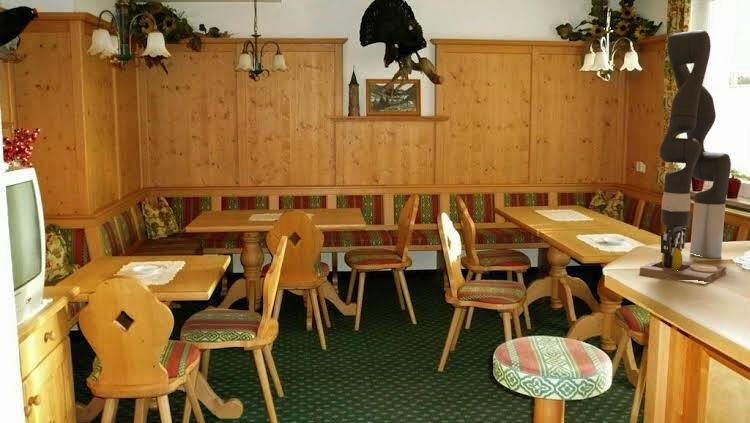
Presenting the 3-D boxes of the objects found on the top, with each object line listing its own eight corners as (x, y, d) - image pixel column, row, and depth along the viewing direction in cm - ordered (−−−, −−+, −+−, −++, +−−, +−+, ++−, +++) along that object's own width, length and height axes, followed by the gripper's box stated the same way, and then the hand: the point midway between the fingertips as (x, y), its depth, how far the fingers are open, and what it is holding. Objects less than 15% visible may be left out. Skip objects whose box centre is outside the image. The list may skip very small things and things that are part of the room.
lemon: (683, 275, 212) (685, 248, 211) (662, 274, 213) (664, 247, 212) (679, 271, 218) (681, 244, 217) (659, 270, 219) (661, 243, 218)
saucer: (694, 265, 216) (695, 262, 216) (720, 269, 212) (720, 266, 212) (686, 269, 211) (686, 266, 211) (712, 273, 206) (712, 270, 206)
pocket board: (663, 264, 227) (663, 257, 227) (725, 273, 215) (726, 267, 215) (639, 274, 214) (640, 267, 213) (704, 285, 202) (705, 277, 202)
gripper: (671, 204, 221) (667, 260, 223) (653, 209, 210) (648, 267, 212) (697, 207, 216) (693, 264, 218) (680, 212, 205) (675, 272, 207)
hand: (671, 265), depth 215 cm, fingers closed on lemon, 5 cm apart
